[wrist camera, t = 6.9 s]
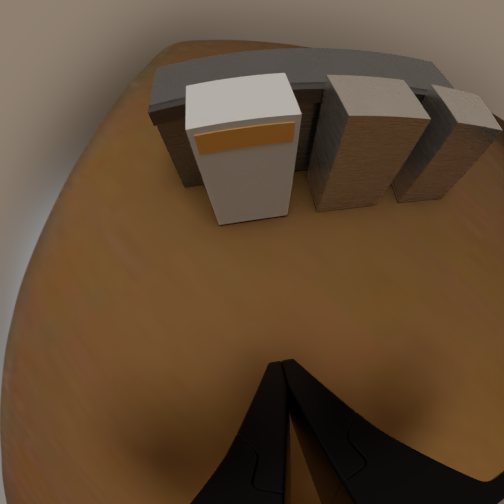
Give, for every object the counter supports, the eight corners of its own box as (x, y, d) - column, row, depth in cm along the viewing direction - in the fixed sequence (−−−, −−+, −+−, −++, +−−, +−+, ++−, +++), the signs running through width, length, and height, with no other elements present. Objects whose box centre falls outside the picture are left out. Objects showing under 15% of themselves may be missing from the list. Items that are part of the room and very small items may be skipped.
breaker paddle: (287, 215, 18) (302, 115, 10) (219, 225, 18) (185, 130, 10) (278, 176, 19) (284, 72, 11) (215, 185, 19) (186, 85, 11)
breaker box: (441, 198, 19) (502, 130, 10) (187, 231, 19) (134, 145, 10) (406, 128, 21) (443, 54, 13) (184, 146, 21) (151, 55, 12)
